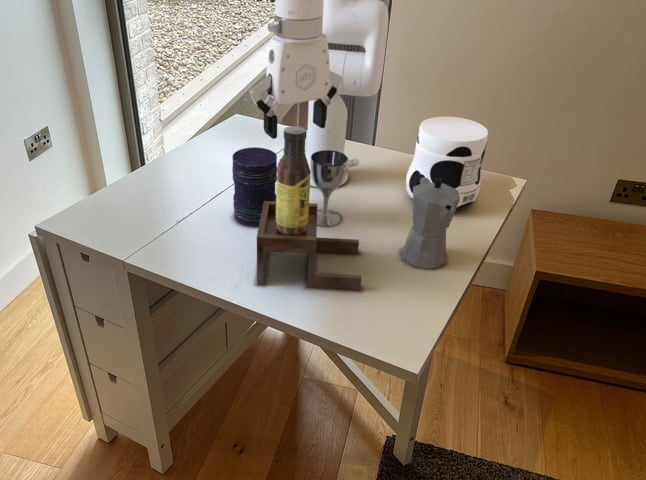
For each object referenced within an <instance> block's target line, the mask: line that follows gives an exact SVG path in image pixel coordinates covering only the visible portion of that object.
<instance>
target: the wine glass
mask: <svg viewBox="0 0 646 480" xmlns="http://www.w3.org/2000/svg"><path fill="white" fill-rule="evenodd" d="M347 157H348V156H347V155H346V154H345V153H344V154H343V153H341V152H338V151H332V150H323V151H318V152H315V153H313V154H312V155H311V176H312V180H313V183H314V184H315V185H316V187H315V188H317V189H318V190H319V191H320V193H321V195H322V197H323V210H317V226H319V227H332V226H335V225H337V224H339V223H340V222H341V217H340V215H339V214H338V213H336V212H335V211H330V210H328V205H329V200H330V197H331V195H332V194H333V192H335V191H336V190H337V189H338V188H339V187H341V186H342V185H343V184H342V182H343V180H344V177H345V174H346V171H347V170H348V169H347V161H348V159H347ZM341 184H342V185H341Z"/></svg>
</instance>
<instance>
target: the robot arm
mask: <svg viewBox="0 0 646 480" xmlns="http://www.w3.org/2000/svg"><path fill="white" fill-rule="evenodd" d="M388 29H389V9H388V6H387V4H386V3H385V2H384V1H382V0H274V16H273V21H272V22H268V24H267V31H268V32H269V33H273V34H274V35H272V36H271V38H270V41H269V45H268V46H269V47H268V53H267V59H266V60H267V61H266V71H265V74H266V75H265V77H264V78H263V79H261V80H260V81H259V82H258V83H256V84H255V85H254V86H253V87H251V88H250V89H249V91H248V94H249V96H250V98H251V100H252V101H253V104H254V106H255V107H257V109H259V110H260V111H261V112H262V113H263V131H264V132H265V134H266V135H267V136H268V137H269V138H271V139H272V140H274V139H277V138H278V116H277V115H276V112H277V111H278V110H279V108H280V106H290V105H296V104H302V103H307V102H308V107H307V108H308V110H307V111H308V112H307V131H306V152H305V155H306V159H307V162H308V165H309V168H310V171H311V155H312V154H313V153H315V152H318V151H323V150H332V151H338V152H341V153H343V154H345V148H346V136H347V125H348V109H347V105H346V103H345V102H344V99H343V98H342V97H341V96H351V97H373V96H375V95H377V94H378V92H379V91H380V89H381V85H382V79H383V73H384V65H385V58H386V57H385V55H386V49H387V48H386V47H387V41H388V40H387V39H388V33H389V30H388ZM329 44H337V45H349V46H361V47H363V48H364V50H365V52H364V51H351V50H350V51H348V50H342V49H341V50H339V49H329ZM265 92H266V96H267V97H266V98H265V100H263V98H262V95H263V93H265ZM347 159H348V161H347V169H346V174H345V177H344V180H343V182H342V184H341V185H340V186H342V185H344V184H345V183H347V181H348V180H349V173H348V171H347V170H349V169H350V168H354V167H358V166H359V163H360V161H359V159H358V158H353V159H349V157H348V156H347ZM310 187H314V188H317V187H316V185H315V184H314V183H313V180H312V176H311V175H310Z"/></svg>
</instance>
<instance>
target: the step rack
mask: <svg viewBox="0 0 646 480" xmlns="http://www.w3.org/2000/svg"><path fill="white" fill-rule="evenodd" d="M317 211H318V203H315V202H314V203H313V202H309V212H308V223H307V229H306V231H304V232H303V233H301V234H298V235H285V234H283V233H281V232H279V231H278V230H277V227H276V202H274V201H264V203H263V208H262V213H261V218H260V223H259V227H257V234H256V285H257V286H264V283H265V276H266V271H267V264H268V258H269V253H277V254H279V253H280V254H297V255H298V254H299V255H308V266H307V284H306V288H307V289H321V290H337V291H338V290H339V291H352V292H353V291H355V292H361V286H362V274H353V273H334V272H317V271H316V269H315V268H316V253H322V254H323V253H325V254H344V255H358V254H359V248H360V247H359V246H360V239H353V238H352V239H351V238H338V237H337V238H334V237H317V234H318V233H317V232H318V231H317V230H318V225H317Z"/></svg>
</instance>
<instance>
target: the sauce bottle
mask: <svg viewBox="0 0 646 480" xmlns="http://www.w3.org/2000/svg"><path fill="white" fill-rule="evenodd" d="M283 139H284V143H283V144H284V145H283V155H282V156H281V158H280V159H279V161H278V163H277V181H276V185H275V194H276V227H277V230H278V231H279V232H281V233H283V234H285V235H298V234H301V233H303V232H304V231H306V229H307V223H308V212H309V203H310V194H311V193H310V192H311V186H310V175H311V171H310V168H309V165H308V162H307V159H306V140H307V129H306V128H305V127H302V126H299V125H291V126H286V127H285V128H283Z"/></svg>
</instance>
